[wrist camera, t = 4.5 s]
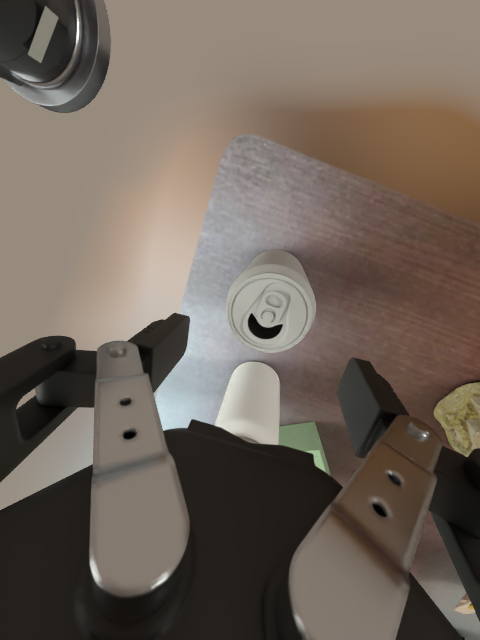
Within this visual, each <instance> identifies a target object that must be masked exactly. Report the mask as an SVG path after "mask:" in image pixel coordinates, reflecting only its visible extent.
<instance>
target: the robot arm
mask: <svg viewBox="0 0 480 640" xmlns="http://www.w3.org/2000/svg"><path fill="white" fill-rule="evenodd" d="M83 41H84V20H83V12H82V7H81V2H80V0H0V77H1V78H3V79H5V80H7V81H9V82H11V83H13V84H15V85H17V86H19V87H20V86H22V85H23V84H25V83H28V84H30V85H32V86H35V87H38V88H46V89H47V88H54V87H57V86H59V85H61V84H63V83H64V82H65V81H67V80H68V79H69V78H70V77H71V75H72V74H73V72H74V71H75V69H76V67H77V65H78V63H79V60H80V57H81V53H82V48H83ZM189 323H190V318H189V316H185V315H181V314H177V313H173V314H172V315H171V316H170V317H168V318H167V319H166V320H158V321H155V322H153V323H151V324H150V325H148V326H147V328H144V329H143V330H142V331H141V332H139V333H137V334H136V335H135V336H134V337H132V338H131V339H129V340H128V341H113V342H109V343H105V344H103V345H101V346H100V347H99V348H98V350H97V351H85V350H76V343H75V341H74V340H73V339H72V338H70V337H66V336H49V337H44V338H40V339H38V340H35V341H33V342H31V343H29V344H27V345H25V346H23V347H21V348H19V349H17V350H15V351H13V352H11V353H9V354H7V355H5V356H3V357H1V358H0V482H1V481H2V480H3V479H4V478H5V477H6V476H8V475H9V474H10V473H11V471H13V470H14V469H15V468H16V467H17V466H18V465H19V464H20V463H21V462H22V461H23V460H24V459H25V458H26V457H27V456H28V455H29V454H30V453H31V452H32V451H33V450H34V449H35V448H36V447H37V446H38V445H39V444H41V443H42V442H43V441H44V440H45V439H46V438H47V437H48V436H49V435H50V434H51V433H52V432H53V431H54V430H55V429H56V428H57V427H58V426H59V425H60V424H61V423H62V422H63V421H64V420H65V419H66V418H67V417H68V416H69V415H70V414H71V413H72V412H73V411H75V410H76V408H78V407H94V446H93V464H92V465H90V466H88V467H87V468H84V469H82V470H80V471H78V472H76V473H74V474H72V475H70V476H68V477H66V478H64V479H62V480H60V481H58V482H56V483H54V484H52V485H50V486H48V487H46V488H44V489H42V490H40V491H38V492H36V493H34V494H32V495H30V496H28V497H26V498H24V499H22V500H20V501H18V502H16V503H14V504H12V505H10V506H8V507H6V508H4V509H2V510H0V640H463V639H462V637H461V636H460V635H459V634H458V632H457V631H456V630H455V629H454V627H453V626H452V625H451V623H450V622H449V621H448V620H447V618H446V617H445V616H444V615H443V613H442V612H441V611H440V610H439V608H438V607H437V606H436V604H435V603H434V602H433V601H432V599H431V598H430V597H429V596H428V594H427V593H426V592H425V590H424V589H423V588H422V587H421V585H420V584H419V583H418V582H417V580H416V579H415V578H414V576H413V575H412V574H411V573H410V568H411V565H412V561H413V558H414V555H415V551H416V548H417V545H418V542H419V538H420V535H421V532H422V528H423V525H424V522H425V519H426V515H427V512H428V510H429V511H430V512H431V515H432V517H433V519H434V521H435V523H436V526H437V528H438V530H439V532H440V535H441V537H442V539H443V541H444V543H445V546H446V548H447V550H448V552H449V554H450V557H451V559H452V561H453V563H454V566H455V568H456V570H457V572H458V574H459V577H460V579H461V581H462V583H463V586H464V588H465V590H466V592H467V594H468V597H469V599H470V601H471V603H472V606H473V608H474V610H475V612H476V614H477V617H478V619H479V621H480V448H476V449H474V450H473V451H472V452H471V453H470V454H469V456H468V457H466V456H463V455H461V454H459V453H457V452H455V451H453V450H451V449H448V448H446V447H444V446H442V444H443V443H442V440H441V438H440V436H439V435H438V434H437V433H436V432H435V431H434V430H433V429H432V428H431V427H430V426H428V425H427V424H425V423H424V422H422V421H420V420H418V419H416V418H414V417H411V416H410V415H409V414H408V412H407V410H406V409H405V407H404V406H403V404H402V403H401V401H400V400H399V398H397V395H396V393H395V392H393V389H392V387H391V386H390V384H389V383H388V382H387V381H386V380H385V379H384V378H383V377H382V376H380V375H379V374H377V372H376V371H375V369H374V368H373V366H372V364H371V363H370V362H369V361H365V360H361V359H357V358H351V359H350V360H349V362H348V364H347V367H346V369H345V372H344V374H343V376H342V379H341V381H340V383H339V386H338V399H339V403H340V406H341V409H342V413H343V416H344V419H345V423H346V426H347V429H348V433H349V436H350V439H351V443H352V446H353V449H354V453H355V456H357V457H360V458H364V459H363V461H362V462H361V463H360V465H359V466H358V468H357V469H356V470H355V472H354V473H353V475H352V476H351V477H350V479H349V480H348V481H347V483H346V484H345V486H344V487H342V486H341V485H340V484H339V483H338V482H337V481H336V480H335V479H334V478H332V477H331V476H330V475H329V474H327V473H326V472H325V471H323V470H321V469H320V468H318V467H316V466H315V464H314V455H313V454H312V453H308V452H305V451H301V450H298V449H294V448H291V447H287V446H284V445H272V444H256V443H249V442H247V441H245V440H243V439H241V438H240V437H238V436H236V435H234V434H232V433H230V432H228V431H226V430H225V429H223V428H221V427H218V426H214V425H211V424H207V423H204V422H200V421H197V420H193V419H192V420H191V422H190V424H189V426H188V428H176V429H169V430H165V431H163V429H162V425H161V422H160V418H159V414H158V410H157V406H156V402H155V398H154V395H153V393H154V392H155V391H156V389H157V388H158V387H159V386H160V384H161V383H162V382H163V381H164V379H165V378H166V377H167V375H168V374H169V373H170V372H171V370H172V369H173V368H174V367H175V365H176V364H177V363H178V361H179V360H180V359H181V358H182V356H183V355H184V353H185V350H186V347H187V340H188V332H189ZM34 388H35V391H36V395H35V396H34V397H33V398H31V399H30V400H29V401H27V402H26V403H25V404H23V405H22V406H21V407H19V408H18V409H17V410H16V407H17V404H18V402H19V401H20V399H21V398H22V397H23V396H24V395H25V394H27V393H28V392H30V391H31V390H32V389H34Z"/></svg>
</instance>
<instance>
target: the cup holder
mask: <svg viewBox="0 0 480 640" xmlns="http://www.w3.org/2000/svg"><path fill="white" fill-rule="evenodd" d="M278 445H284V446H287V447H291V448H294V449H298V450H301V451H305V452H308V453H312V454H313V455H314V464H315V466H316V467H318V468H320V469H321V470H323V471H325V472H326V473H327V474H329V475H330V471H329V467H328V464H327V461H326V457H325V454H324V450H323V447H322V444H321V440H320V437H319V434H318V430H317V427H316V424H315V422H307V423H300V424H292V425H285V426H279V444H278Z"/></svg>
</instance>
